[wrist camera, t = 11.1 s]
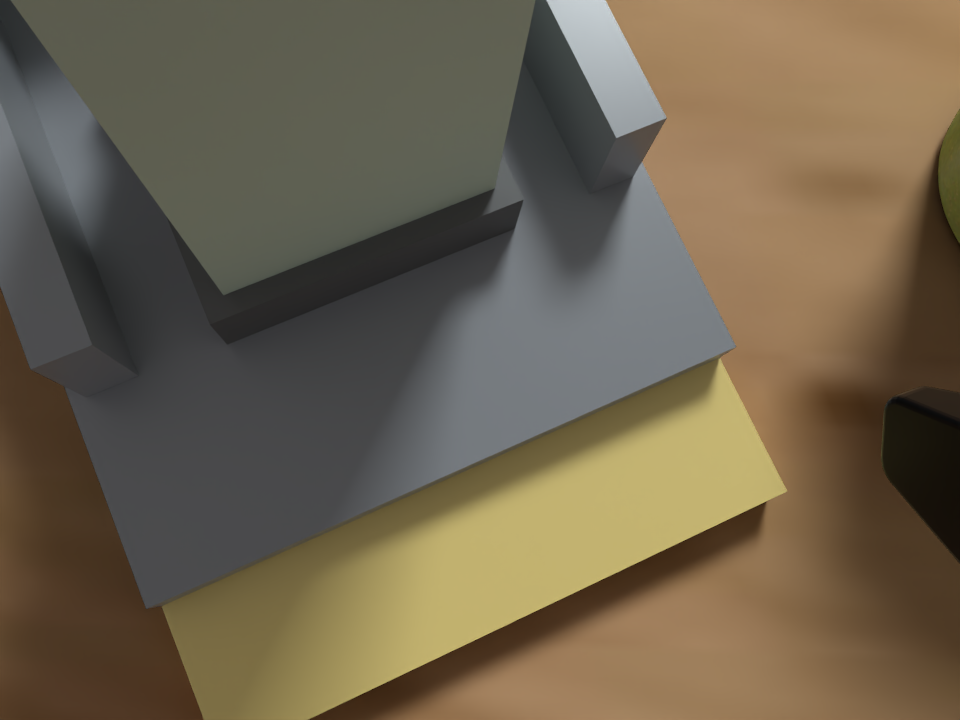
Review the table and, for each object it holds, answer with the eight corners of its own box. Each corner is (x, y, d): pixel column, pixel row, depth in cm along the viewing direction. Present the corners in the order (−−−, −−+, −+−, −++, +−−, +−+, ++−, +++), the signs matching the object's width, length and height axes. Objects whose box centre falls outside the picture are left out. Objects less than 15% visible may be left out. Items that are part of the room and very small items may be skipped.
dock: (768, 494, 19) (922, 466, 13) (230, 750, 17) (137, 846, 12) (445, -149, 22) (455, -403, 16) (-47, 13, 20) (-233, -207, 14)
